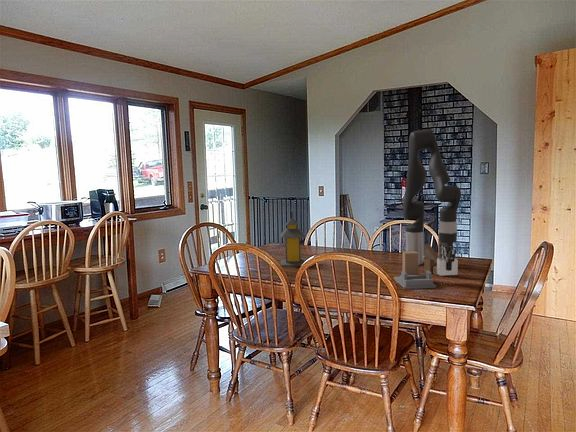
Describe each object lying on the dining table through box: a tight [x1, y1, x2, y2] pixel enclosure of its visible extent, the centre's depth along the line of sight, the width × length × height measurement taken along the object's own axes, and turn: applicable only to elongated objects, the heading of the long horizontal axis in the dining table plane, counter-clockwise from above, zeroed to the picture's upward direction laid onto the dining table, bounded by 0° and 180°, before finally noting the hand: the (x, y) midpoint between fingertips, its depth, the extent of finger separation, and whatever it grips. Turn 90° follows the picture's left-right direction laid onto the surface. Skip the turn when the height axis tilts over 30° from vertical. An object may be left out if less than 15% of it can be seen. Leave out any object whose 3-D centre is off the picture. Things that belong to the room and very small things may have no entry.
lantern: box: [279, 209, 307, 267], centre depth 245 cm, size 14×14×30 cm
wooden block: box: [423, 237, 447, 277], centre depth 214 cm, size 4×11×18 cm, turn 37°
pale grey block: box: [436, 257, 459, 276], centre depth 198 cm, size 4×8×7 cm, turn 91°
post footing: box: [393, 250, 437, 290], centre depth 200 cm, size 17×14×13 cm
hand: (447, 269), depth 198 cm, fingers closed on pale grey block, 3 cm apart
